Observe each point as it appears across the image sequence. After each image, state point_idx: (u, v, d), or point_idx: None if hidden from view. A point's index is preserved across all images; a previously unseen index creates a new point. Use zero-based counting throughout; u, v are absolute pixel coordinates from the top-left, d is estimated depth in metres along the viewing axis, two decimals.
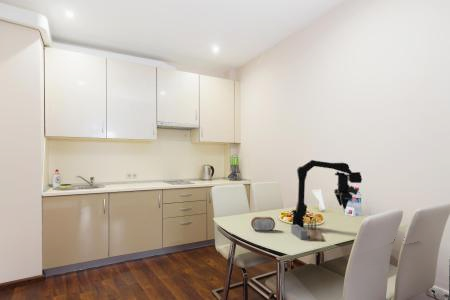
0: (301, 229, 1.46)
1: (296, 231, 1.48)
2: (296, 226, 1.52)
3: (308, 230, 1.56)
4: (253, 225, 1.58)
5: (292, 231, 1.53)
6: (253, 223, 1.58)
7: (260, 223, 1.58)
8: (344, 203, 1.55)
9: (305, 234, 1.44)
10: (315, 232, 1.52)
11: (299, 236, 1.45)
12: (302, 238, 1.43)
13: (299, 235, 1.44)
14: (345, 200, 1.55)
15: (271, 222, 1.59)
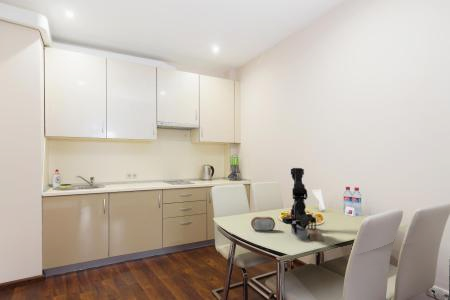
0: (301, 229, 1.46)
1: (296, 231, 1.48)
2: (296, 226, 1.52)
3: (308, 230, 1.56)
4: (253, 225, 1.58)
5: (292, 231, 1.53)
6: (253, 223, 1.58)
7: (260, 223, 1.58)
8: (293, 228, 1.49)
9: (305, 234, 1.43)
10: (315, 232, 1.52)
11: (299, 236, 1.45)
12: (302, 238, 1.43)
13: (299, 235, 1.44)
14: None
15: (271, 221, 1.59)
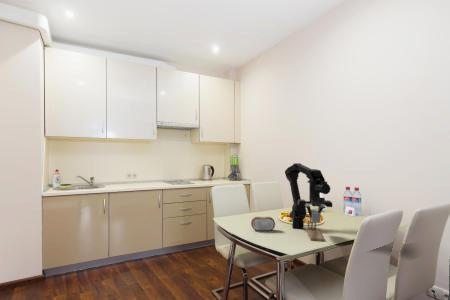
0: (315, 212, 1.46)
1: (311, 214, 1.48)
2: (313, 210, 1.52)
3: (308, 230, 1.56)
4: (253, 225, 1.58)
5: None
6: (253, 223, 1.58)
7: (260, 223, 1.58)
8: (308, 211, 1.50)
9: (317, 217, 1.43)
10: (315, 232, 1.52)
11: (312, 218, 1.45)
12: (314, 220, 1.43)
13: (312, 217, 1.44)
14: None
15: (271, 221, 1.59)
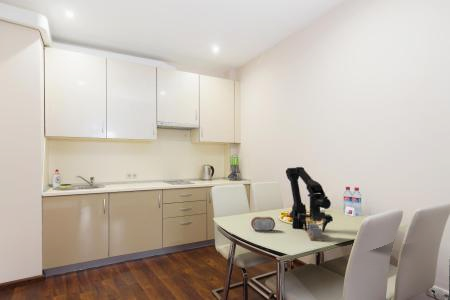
0: (315, 227, 1.46)
1: (311, 229, 1.48)
2: (313, 224, 1.52)
3: (308, 230, 1.56)
4: (253, 225, 1.58)
5: None
6: (253, 223, 1.58)
7: (260, 223, 1.58)
8: (304, 225, 1.50)
9: (318, 232, 1.43)
10: None
11: (312, 233, 1.45)
12: (314, 236, 1.43)
13: (312, 232, 1.44)
14: None
15: (271, 221, 1.59)
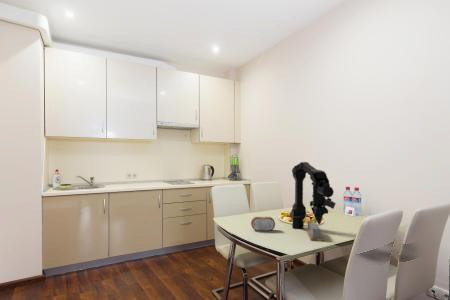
0: (315, 227, 1.46)
1: (311, 229, 1.48)
2: (313, 224, 1.52)
3: (308, 230, 1.56)
4: (253, 225, 1.58)
5: None
6: (253, 223, 1.58)
7: (260, 223, 1.58)
8: (318, 217, 1.35)
9: (318, 232, 1.43)
10: None
11: (312, 233, 1.45)
12: (314, 236, 1.43)
13: (312, 232, 1.44)
14: (319, 214, 1.35)
15: (271, 222, 1.59)
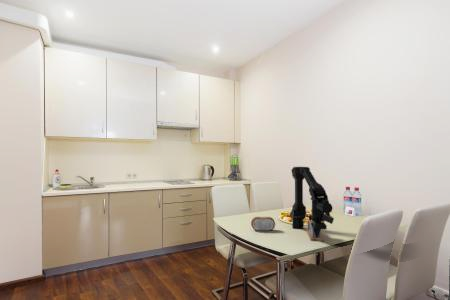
0: None
1: (311, 228, 1.49)
2: None
3: (308, 230, 1.56)
4: (253, 225, 1.58)
5: (309, 228, 1.54)
6: (253, 223, 1.58)
7: (260, 223, 1.58)
8: (316, 231, 1.40)
9: None
10: None
11: (312, 233, 1.46)
12: (314, 235, 1.44)
13: (312, 232, 1.45)
14: None
15: (271, 221, 1.59)
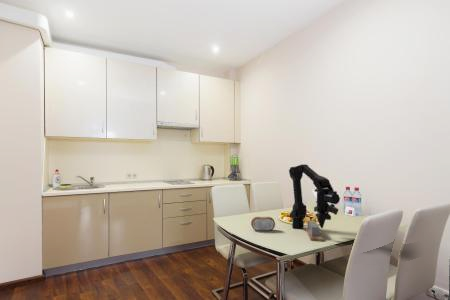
0: (314, 225, 1.49)
1: (310, 227, 1.51)
2: (312, 222, 1.55)
3: (308, 230, 1.56)
4: (253, 225, 1.58)
5: (309, 227, 1.56)
6: (253, 223, 1.58)
7: (260, 223, 1.58)
8: (321, 222, 1.43)
9: (317, 230, 1.46)
10: None
11: (311, 232, 1.48)
12: (313, 234, 1.46)
13: (311, 230, 1.47)
14: (322, 219, 1.43)
15: (271, 221, 1.59)
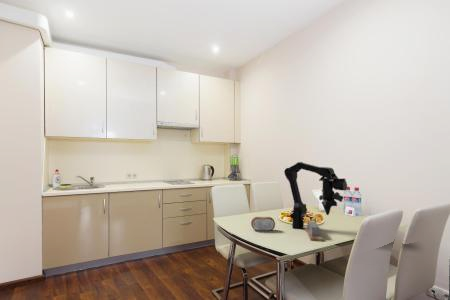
0: (314, 225, 1.49)
1: (310, 227, 1.51)
2: (312, 222, 1.55)
3: (308, 230, 1.56)
4: (253, 225, 1.58)
5: (309, 227, 1.56)
6: (253, 223, 1.58)
7: (260, 223, 1.58)
8: (327, 209, 1.50)
9: (317, 230, 1.46)
10: None
11: (311, 232, 1.48)
12: (313, 234, 1.46)
13: (311, 230, 1.47)
14: (328, 206, 1.50)
15: (271, 222, 1.59)
